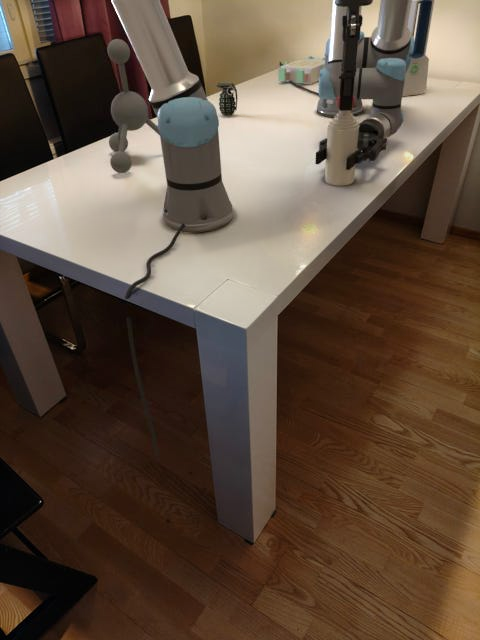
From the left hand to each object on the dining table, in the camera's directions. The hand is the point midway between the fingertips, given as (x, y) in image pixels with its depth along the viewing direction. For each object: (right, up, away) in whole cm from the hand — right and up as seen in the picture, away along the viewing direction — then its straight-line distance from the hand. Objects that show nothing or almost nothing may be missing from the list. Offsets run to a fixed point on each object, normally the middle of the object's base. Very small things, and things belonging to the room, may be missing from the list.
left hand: (345, 107), depth 110 cm
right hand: (-2, -11, +4) cm, 12 cm away
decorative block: (+4, +55, +98) cm, 113 cm away
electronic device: (+38, +36, +71) cm, 89 cm away
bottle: (+1, -13, +11) cm, 17 cm away
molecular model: (-51, -2, +29) cm, 58 cm away
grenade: (-28, +23, +60) cm, 70 cm away
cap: (0, +1, -1) cm, 2 cm away
